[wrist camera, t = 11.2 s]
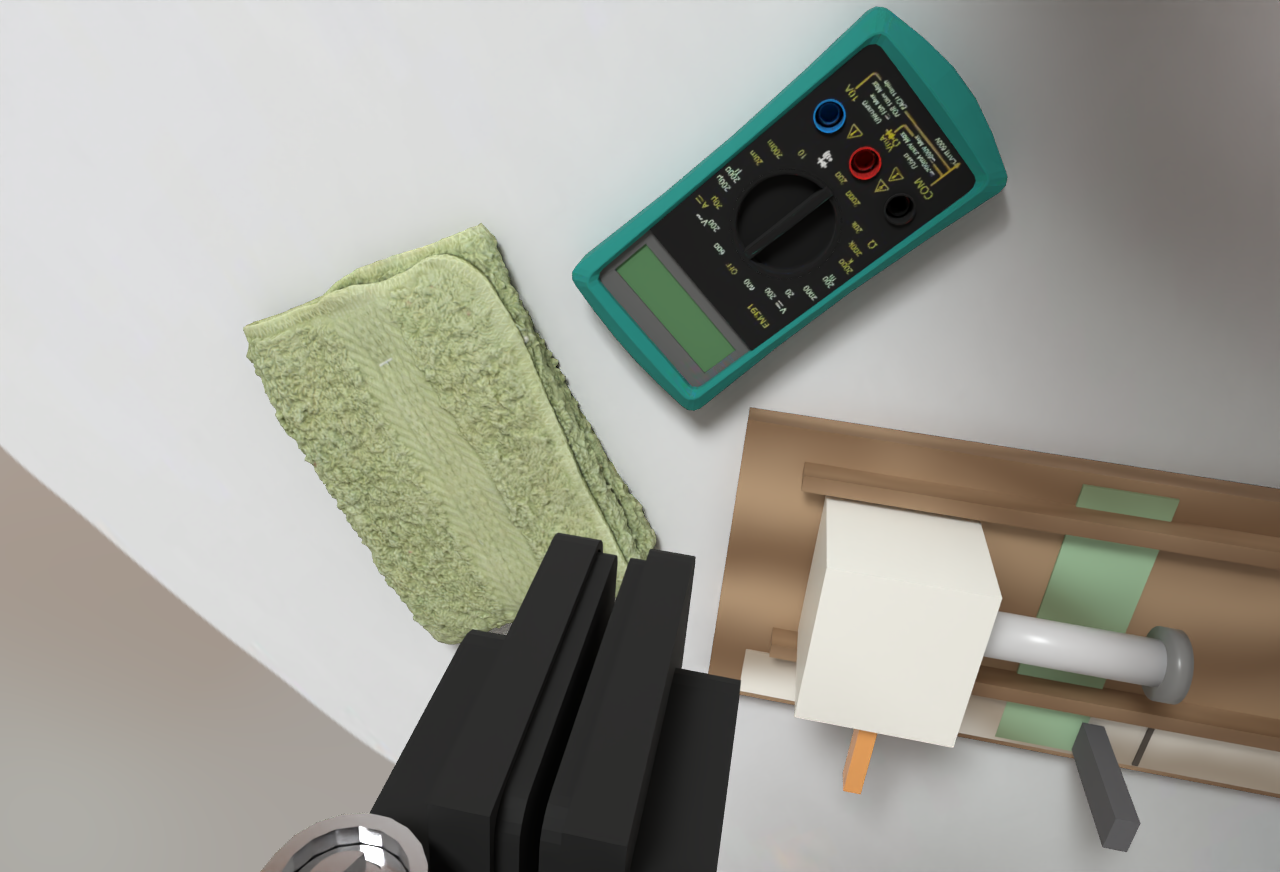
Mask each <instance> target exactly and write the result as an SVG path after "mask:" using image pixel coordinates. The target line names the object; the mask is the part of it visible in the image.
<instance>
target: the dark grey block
mask: <svg viewBox="0 0 1280 872" xmlns="http://www.w3.org/2000/svg"><path fill="white" fill-rule="evenodd" d="M1071 750H1072V753H1073V756H1074V759H1075V762H1076V765H1077V768H1078V772H1079V775H1080V778H1081V781H1082V784H1083V787H1084V790H1085V793H1086V797H1087V800H1088V803H1089V806H1090V809H1091V812H1092V815H1093V818H1094V822H1095V825H1096V828H1097V831H1098V834H1099V837H1100V840H1101V844H1102V847H1104V848H1109V849H1114V850H1119V851H1124V852H1127V850H1128V848H1129V846H1130V844H1131V842H1132V840H1133V838H1134V836H1135V834H1136V832H1137V830H1138V827H1139V825H1140V821H1139V818H1138V816H1137V813H1136V810H1135V808H1134V805H1133V802H1132V800H1131V797H1130V794H1129V792H1128V789H1127V786H1126V784H1125V781H1124V778H1123V776H1122V773H1121V770H1120V768H1119V765H1118V762H1117V759H1116V757H1115V754H1114V751H1113V749H1112V746H1111V743H1110V741H1109V738H1108V735H1107V733H1106V730H1105V727H1104V726H1099V725H1094V724H1088V723H1083V722H1082V725H1081V727H1080V730H1079V732H1078V735H1077V737H1076V740H1075V742H1074V745H1073V747H1072V749H1071Z"/></svg>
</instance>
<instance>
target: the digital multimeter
mask: <svg viewBox="0 0 1280 872" xmlns="http://www.w3.org/2000/svg"><path fill="white" fill-rule="evenodd" d="M861 49H862V50H861ZM855 54H856V55H855ZM854 55H855V56H854ZM848 60H849V61H848ZM842 65H843V66H842ZM841 66H842V67H841ZM835 71H836V72H835ZM834 72H835V73H834ZM902 75H903V76H902ZM828 77H829V78H828ZM822 82H823V83H822ZM821 83H822V84H821ZM815 88H816V89H815ZM809 93H810V94H809ZM808 94H809V95H808ZM802 99H803V100H802ZM801 100H802V101H801ZM795 105H796V106H795ZM788 111H789V112H788ZM947 137H948V138H947ZM781 169H784V170H781ZM790 169H794V170H790ZM802 171H804V172H802ZM814 176H815V177H814ZM1007 178H1008V177H1007V174H1006V171H1005V168H1004V165H1003V162H1002V159H1001V157H1000V154H999V151H998V148H997V146H996V143H995V140H994V137H993V134H992V132H991V130H990V128H989V126H988V124H987V121H986V119H985V117H984V115H983V113H982V111H981V109H980V107H979V104H978V102H977V100H976V98H975V97H974V95H973V94H972V93H971V91H970V90H969V88H968V87H967V85H966V84H965V83H964V81H963V80H962V78H961V77H960V76H959V74H958V73H957V71H956V70H955V69H954V67H953V66H952V65H951V64H950V63H949V62H948V61H947V60H946V59H945V58H944V57H943V56H942V55H941V54H940V53H939V52H938V51H937V50H936V49H935V48H934V47H933V46H932V45H931V44H930V43H929V42H928V41H926V40H925V39H924V38H923V37H922V36H921V35H919V34H918V33H917V32H916V31H914V30H913V29H912V28H911V27H910V26H908V25H907V24H906V23H905V22H903V21H902V20H901V19H900V18H898V17H897V16H896V15H895V14H893V13H892V12H891V11H890V10H888V9H887V8H884V7H874V8H872V9H870V10H868V11H867V12H866V13H865V14H864V15H862V16H861V17H860V18H859V19H858V20H857V21H856V22H855V23H854V24H853V25H852V26H851V27H850V28H849V29H848V30H847V31H846V32H845V33H843V34H842V35H841V36H840V37H839V38H838V39H837V40H836V41H835V42H834V43H833V44H832V45H831V46H830V47H829V48H828V49H827V50H826V51H824V52H823V53H822V54H821V55H820V56H819V57H818V58H817V59H816V60H815V61H814V62H813V63H812V64H811V65H810V66H809V67H808V68H807V69H805V70H804V71H803V72H802V73H801V74H800V75H799V76H798V77H797V78H796V79H794V80H793V81H792V82H791V83H790V84H789V85H788V86H787V87H786V88H785V89H783V90H782V91H781V92H780V93H779V94H778V95H777V96H776V97H775V98H774V99H772V100H771V101H770V102H769V103H768V104H767V105H766V106H765V107H764V108H763V109H761V110H760V111H759V112H758V113H757V114H756V115H755V116H754V117H753V118H752V119H750V120H749V121H748V122H747V123H746V124H745V125H744V126H743V127H742V128H741V129H739V130H738V131H737V132H736V133H735V134H734V135H733V136H732V137H730V138H729V139H728V140H727V141H726V142H724V143H723V144H722V145H721V146H720V147H719V148H717V149H716V150H715V151H714V152H713V153H711V154H710V155H709V156H708V157H707V158H705V159H704V160H703V161H702V162H701V163H699V164H698V165H697V166H696V167H695V168H694V169H692V170H691V171H690V172H689V173H688V174H686V175H685V176H684V177H683V178H682V179H680V180H679V181H678V182H677V183H676V184H675V185H673V186H672V187H671V188H670V189H669V190H667V191H666V192H665V193H664V194H663V195H661V196H660V197H659V198H657V199H656V200H655V201H654V202H652V203H651V204H650V205H649V206H647V207H646V208H645V209H643V210H642V211H641V212H640V213H638V214H637V215H636V216H635V217H633V218H632V219H631V220H629V221H628V222H627V223H626V224H624V225H623V226H622V227H621V228H619V229H618V230H617V231H615V232H614V233H613V234H612V235H610V236H609V237H608V238H607V239H605V240H604V241H603V242H602V243H600V244H599V245H598V246H596V247H595V248H594V249H593V250H591V251H590V252H589V253H588V254H586V255H585V256H584V258H583V259H582V260H581V261H580V262H579V263H578V265H577V266H576V267H575V269H574V270H573V272H572V279H573V281H574V283H575V285H576V287H577V288H578V289H579V291H580V292H581V293H582V295H583V296H584V297H585V299H586V300H587V301H588V303H589V304H590V306H591V307H592V308H593V310H594V311H595V312H596V314H597V315H598V316H599V317H600V319H601V320H602V321H603V323H604V324H605V325H606V326H607V328H608V329H609V330H610V331H611V333H612V334H613V335H614V337H615V338H616V339H617V340H618V341H619V342H620V343H621V345H622V346H623V347H624V348H625V349H626V350H627V351H628V353H629V354H630V355H631V356H632V357H633V358H634V359H635V360H636V362H637V363H638V364H639V365H640V366H641V367H642V368H643V369H644V370H645V371H646V372H647V373H648V374H649V375H650V376H651V377H652V378H653V379H654V380H655V381H656V382H657V383H658V384H659V385H660V386H661V387H662V388H663V389H664V390H666V391H667V392H668V393H669V394H670V395H671V396H672V397H673V398H674V399H675V400H676V401H677V402H678V403H679V404H680V405H681V406H683V407H684V408H686V409H687V410H693V411H694V410H697V409H700V408H701V407H703V406H704V405H705V404H706V403H708V402H709V401H710V400H711V399H713V398H714V397H715V396H716V395H718V394H719V393H720V392H721V391H723V390H724V389H725V388H726V387H728V386H729V385H730V384H731V383H733V382H734V381H735V380H736V379H738V378H739V377H740V376H741V375H743V374H744V373H745V372H746V371H748V370H749V369H750V368H751V367H753V366H754V365H755V364H756V363H758V362H759V361H760V360H761V359H763V358H764V357H765V356H766V355H768V354H769V353H770V352H771V351H773V350H774V349H775V348H776V347H778V346H779V345H780V344H782V343H783V342H784V341H786V340H787V339H788V338H790V337H791V336H792V335H794V334H795V333H796V332H798V331H799V330H800V329H802V328H803V327H804V326H806V325H807V324H808V323H810V322H811V321H813V320H814V319H815V318H817V317H818V316H819V315H821V314H822V313H823V312H825V311H826V310H827V309H829V308H830V307H831V306H833V305H834V304H835V303H837V302H838V301H839V300H841V299H842V298H843V297H845V296H846V295H847V294H849V293H850V292H852V291H853V290H854V289H856V288H857V287H859V286H860V285H862V284H863V283H865V282H866V281H868V280H869V279H871V278H872V277H873V276H875V275H876V274H878V273H879V272H881V271H882V270H884V269H885V268H887V267H888V266H889V265H891V264H892V263H894V262H895V261H897V260H898V259H900V258H901V257H903V256H904V255H906V254H907V253H908V252H910V251H911V250H913V249H914V248H916V247H917V246H919V245H920V244H922V243H923V242H924V241H926V240H927V239H929V238H930V237H932V236H933V235H935V234H936V233H938V232H940V231H941V230H943V229H944V228H946V227H947V226H949V225H950V224H952V223H953V222H955V221H956V220H958V219H959V218H961V217H962V216H964V215H966V214H967V213H969V212H970V211H972V210H973V209H975V208H976V207H978V206H979V205H981V204H982V203H984V202H985V201H987V200H988V199H990V198H992V197H993V196H995V195H996V194H998V193H999V192H1000V191H1001V190H1002V189H1003V188H1004V187H1005V186H1006V182H1007ZM823 182H824V183H823ZM831 191H832V192H831ZM965 194H966V195H965ZM962 196H963V197H962ZM961 197H962V198H961ZM958 199H959V200H958ZM957 200H958V201H957ZM954 202H955V203H954ZM950 205H951V206H950ZM947 207H948V208H947ZM839 208H840V209H839ZM946 208H947V209H946ZM943 210H944V211H943ZM841 219H842V223H841ZM732 240H733V241H732ZM838 240H839V241H838ZM834 249H835V250H834ZM736 250H737V251H736ZM833 251H834V252H833ZM742 259H743V260H744V261H743V260H742ZM827 259H828V260H827ZM826 260H827V261H826ZM748 265H749V266H750V267H749V266H748ZM758 272H759V273H758ZM760 273H761V274H760ZM777 278H778V279H777ZM791 278H792V279H791ZM679 372H680V373H679Z"/></svg>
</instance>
